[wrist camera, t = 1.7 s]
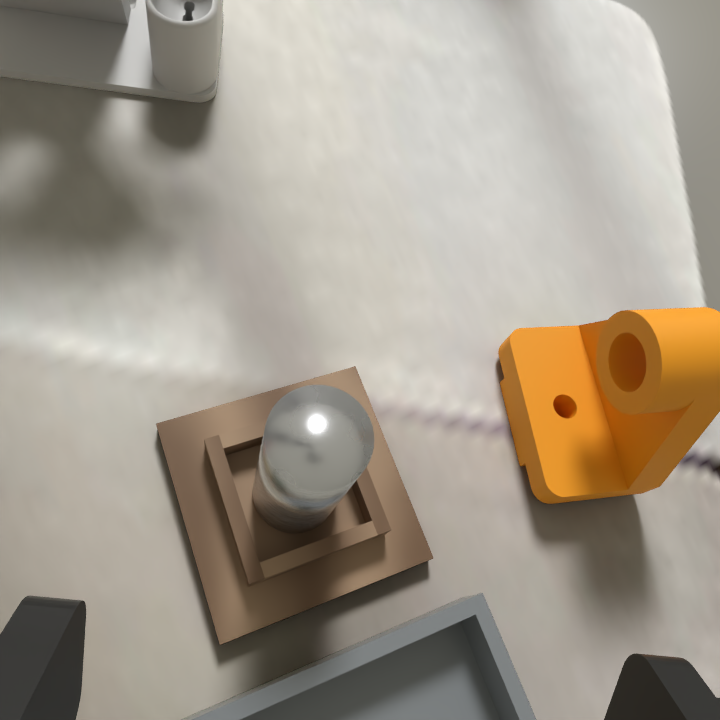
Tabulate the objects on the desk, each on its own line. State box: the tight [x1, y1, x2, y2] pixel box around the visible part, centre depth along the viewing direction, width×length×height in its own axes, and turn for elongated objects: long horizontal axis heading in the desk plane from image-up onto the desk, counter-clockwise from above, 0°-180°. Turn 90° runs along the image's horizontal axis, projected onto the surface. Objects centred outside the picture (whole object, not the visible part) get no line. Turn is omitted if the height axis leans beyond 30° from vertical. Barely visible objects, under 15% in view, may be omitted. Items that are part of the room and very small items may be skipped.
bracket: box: [499, 307, 720, 504], centre depth 37 cm, size 11×7×12 cm, turn 8°
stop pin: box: [253, 385, 374, 534], centre depth 32 cm, size 5×5×10 cm
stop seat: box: [156, 367, 433, 645], centre depth 36 cm, size 12×12×2 cm
